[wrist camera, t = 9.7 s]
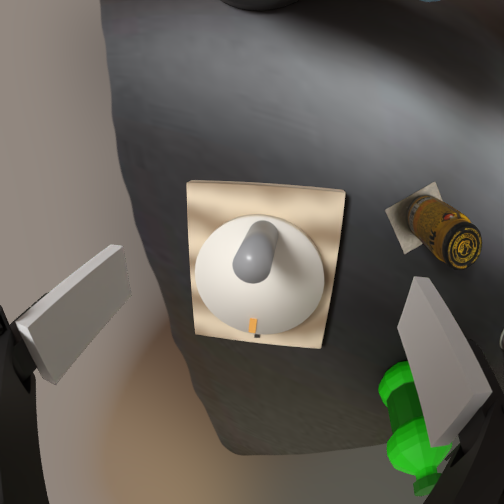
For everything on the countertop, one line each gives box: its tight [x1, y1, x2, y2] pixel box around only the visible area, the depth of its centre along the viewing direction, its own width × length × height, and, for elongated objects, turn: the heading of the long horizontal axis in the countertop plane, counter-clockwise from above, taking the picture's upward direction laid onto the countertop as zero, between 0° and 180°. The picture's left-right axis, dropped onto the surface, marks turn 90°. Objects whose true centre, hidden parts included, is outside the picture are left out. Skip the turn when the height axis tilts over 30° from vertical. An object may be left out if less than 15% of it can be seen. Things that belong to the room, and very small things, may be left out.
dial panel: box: [187, 180, 345, 349], centre depth 42 cm, size 24×20×2 cm
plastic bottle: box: [378, 361, 453, 496], centre depth 35 cm, size 10×10×25 cm
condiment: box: [385, 182, 482, 270], centre depth 31 cm, size 7×8×12 cm
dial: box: [195, 214, 324, 335], centre depth 35 cm, size 17×17×11 cm
